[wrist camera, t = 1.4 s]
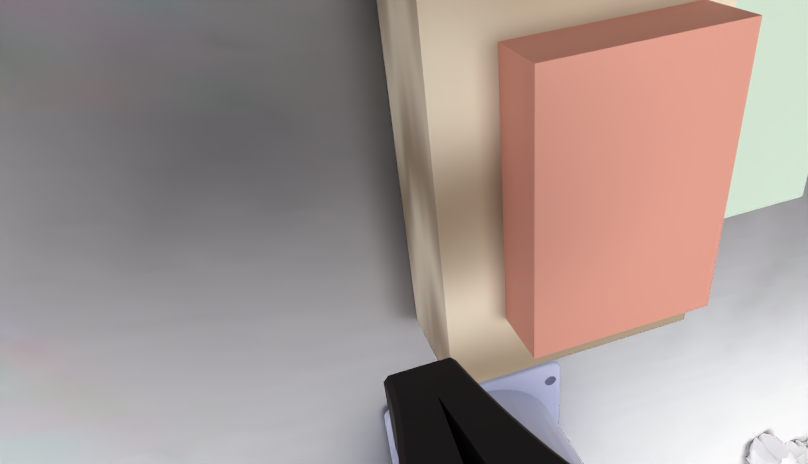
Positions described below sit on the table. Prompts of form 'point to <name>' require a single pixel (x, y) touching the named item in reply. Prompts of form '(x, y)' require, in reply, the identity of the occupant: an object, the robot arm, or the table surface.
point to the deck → (467, 163)
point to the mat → (774, 111)
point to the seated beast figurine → (777, 451)
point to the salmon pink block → (618, 167)
